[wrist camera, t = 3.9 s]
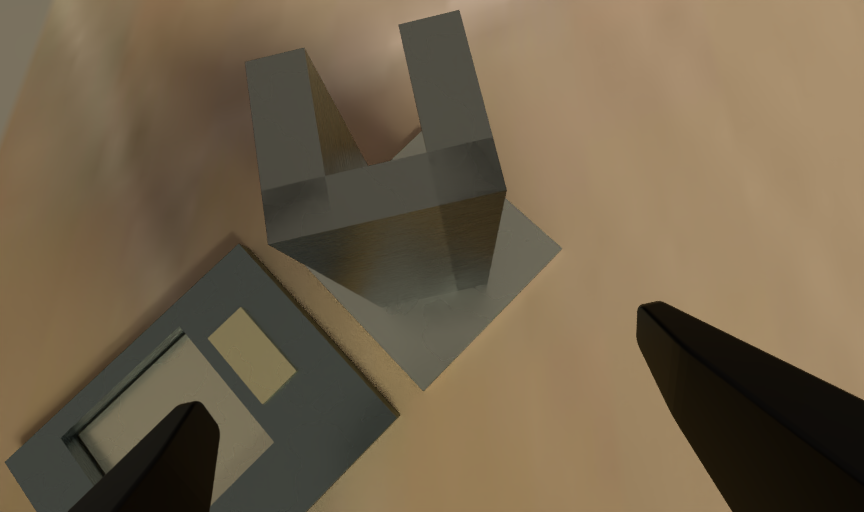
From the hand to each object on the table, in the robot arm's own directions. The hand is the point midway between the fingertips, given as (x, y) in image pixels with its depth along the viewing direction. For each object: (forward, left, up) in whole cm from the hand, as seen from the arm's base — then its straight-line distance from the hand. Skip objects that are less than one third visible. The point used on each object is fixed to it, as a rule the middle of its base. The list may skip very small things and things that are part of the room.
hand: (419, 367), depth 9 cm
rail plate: (+5, +10, -12) cm, 16 cm away
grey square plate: (+4, -3, -12) cm, 13 cm away
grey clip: (+4, -3, -11) cm, 12 cm away
